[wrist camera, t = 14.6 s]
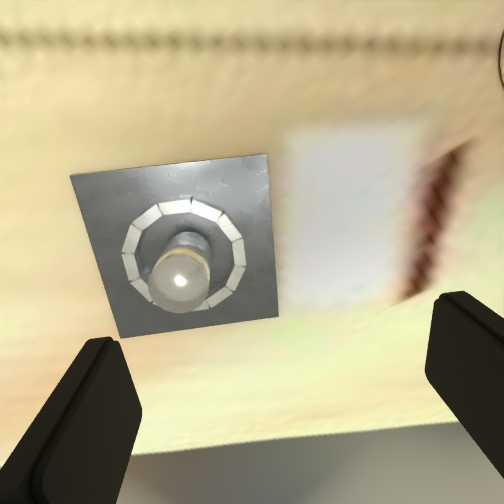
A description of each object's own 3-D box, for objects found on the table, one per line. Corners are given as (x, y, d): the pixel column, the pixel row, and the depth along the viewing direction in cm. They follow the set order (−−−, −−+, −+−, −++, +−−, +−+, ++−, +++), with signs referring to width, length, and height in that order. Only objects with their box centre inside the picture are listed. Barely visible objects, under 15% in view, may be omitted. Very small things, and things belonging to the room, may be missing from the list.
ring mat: (265, 153, 31) (268, 155, 29) (277, 313, 38) (281, 323, 36) (72, 174, 30) (62, 177, 28) (122, 335, 37) (116, 346, 35)
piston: (209, 229, 32) (204, 256, 25) (214, 272, 34) (211, 309, 27) (161, 234, 32) (142, 262, 25) (169, 277, 34) (153, 316, 26)
